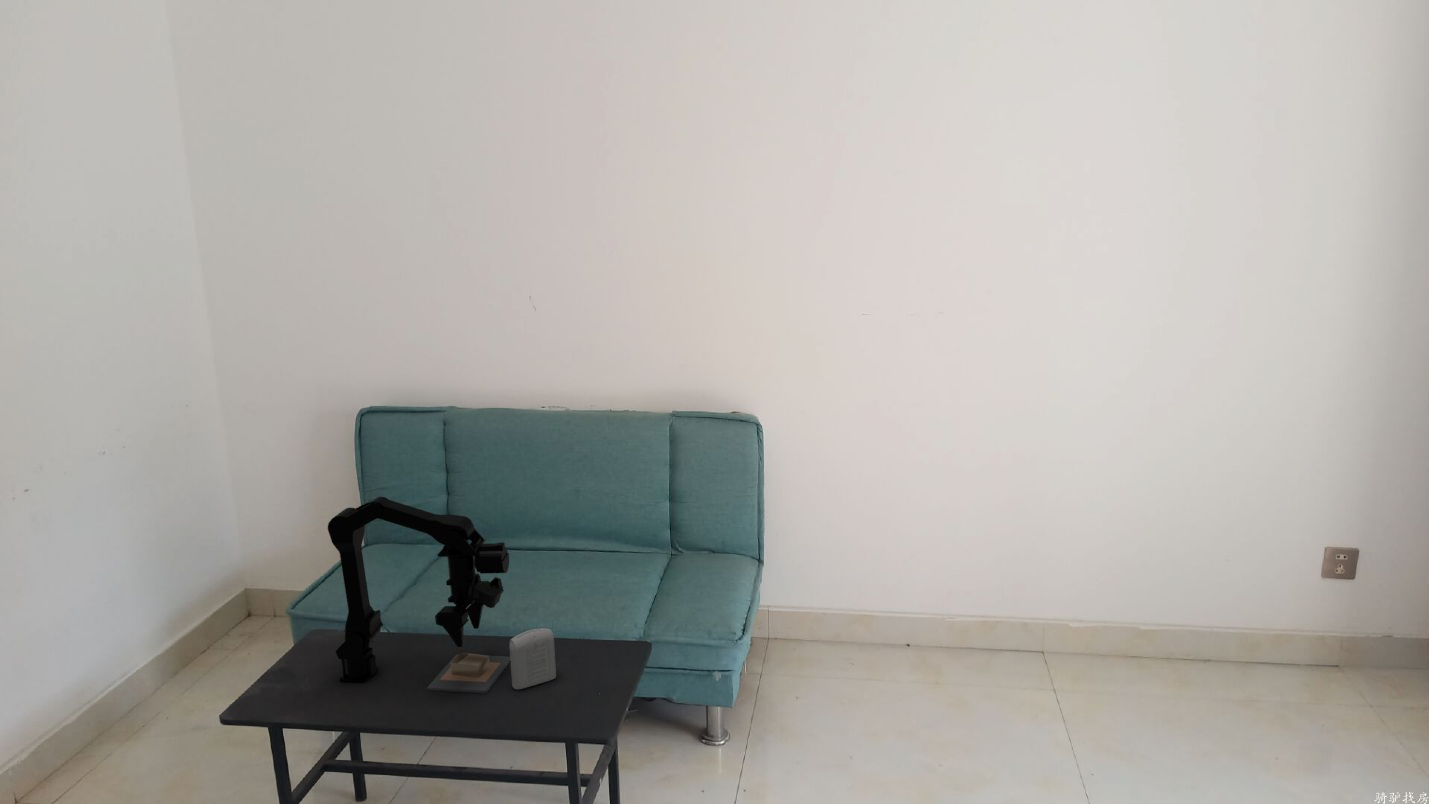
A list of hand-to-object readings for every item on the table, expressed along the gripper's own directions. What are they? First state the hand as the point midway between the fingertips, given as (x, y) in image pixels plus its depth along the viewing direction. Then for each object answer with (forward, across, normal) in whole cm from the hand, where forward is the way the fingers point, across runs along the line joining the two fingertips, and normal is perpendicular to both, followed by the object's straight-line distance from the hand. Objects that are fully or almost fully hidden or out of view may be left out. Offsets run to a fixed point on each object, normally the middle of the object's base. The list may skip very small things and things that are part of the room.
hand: (468, 637), depth 214 cm
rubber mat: (+9, 0, 0) cm, 9 cm away
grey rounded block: (+10, -2, -16) cm, 19 cm away
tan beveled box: (+8, 0, 0) cm, 8 cm away
